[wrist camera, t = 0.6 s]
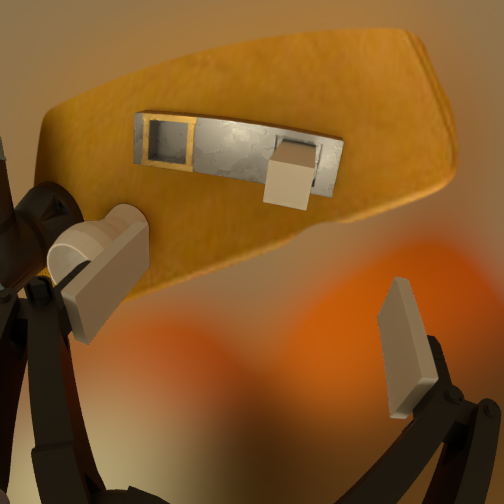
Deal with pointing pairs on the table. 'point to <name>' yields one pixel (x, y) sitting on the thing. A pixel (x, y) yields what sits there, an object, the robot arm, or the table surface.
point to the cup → (89, 240)
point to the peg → (290, 174)
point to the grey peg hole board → (227, 146)
